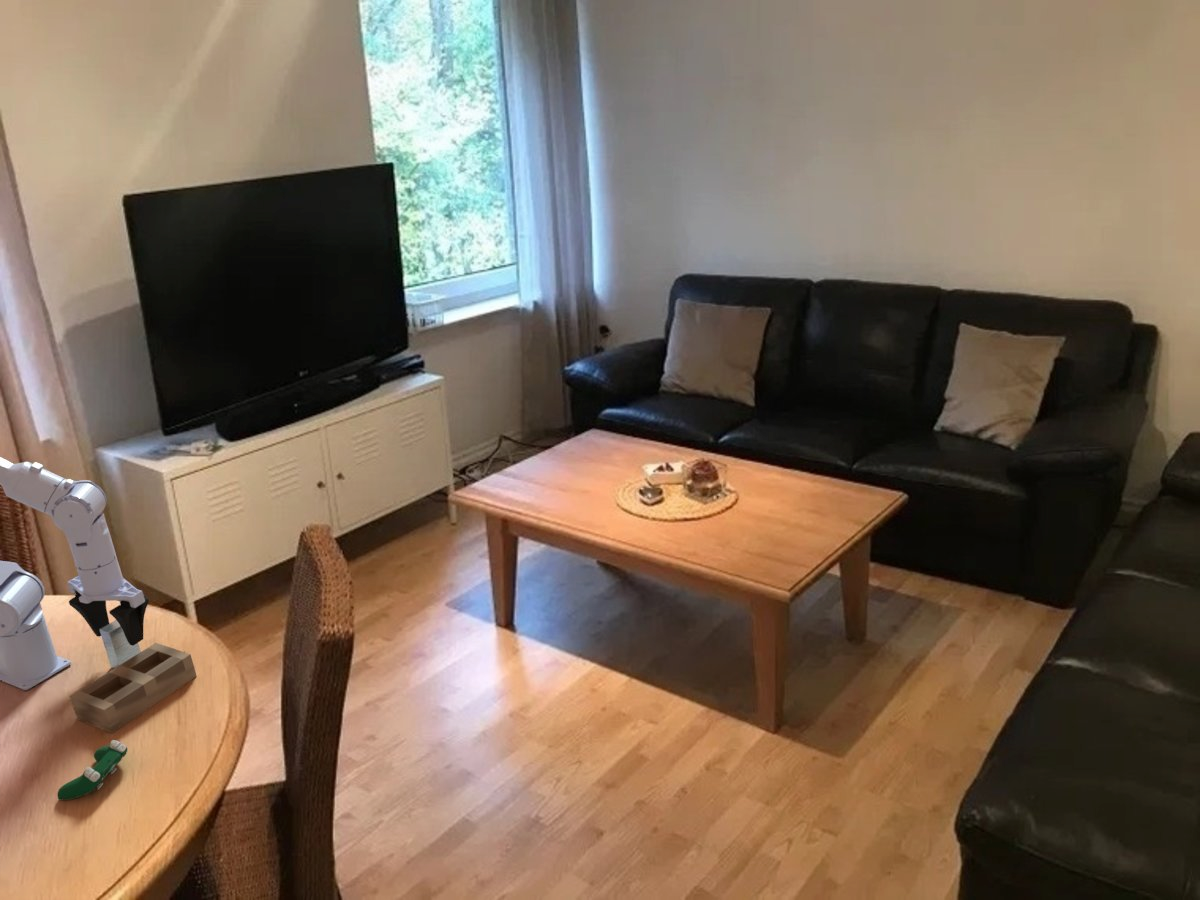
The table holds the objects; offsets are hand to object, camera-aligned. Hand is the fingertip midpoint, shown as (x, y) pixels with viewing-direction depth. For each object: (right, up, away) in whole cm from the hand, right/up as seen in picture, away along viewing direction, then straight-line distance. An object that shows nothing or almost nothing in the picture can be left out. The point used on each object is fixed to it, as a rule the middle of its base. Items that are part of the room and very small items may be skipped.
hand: (119, 637), depth 165 cm
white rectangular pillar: (0, -4, +2) cm, 5 cm away
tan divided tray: (+6, -8, -7) cm, 12 cm away
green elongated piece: (+8, -15, -24) cm, 30 cm away
